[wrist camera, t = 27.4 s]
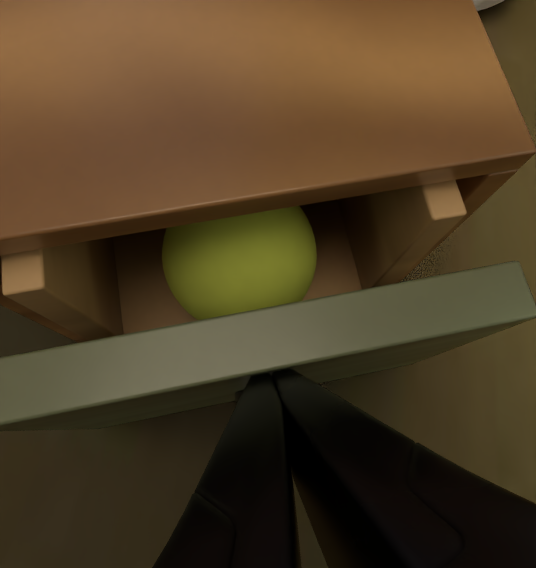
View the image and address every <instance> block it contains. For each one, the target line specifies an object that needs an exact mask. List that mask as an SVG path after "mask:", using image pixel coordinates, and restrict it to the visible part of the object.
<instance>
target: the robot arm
mask: <svg viewBox="0 0 536 568" xmlns="http://www.w3.org/2000/svg"><path fill="white" fill-rule="evenodd" d="M291 472H292V473H291ZM292 475H293V479H294V482H295V484H296V487H297V490H298V492H299V495H300V497H301V500H302V502H303V505H304V507H305V510H306V513H307V515H308V518H309V520H310V523H311V525H312V528H313V530H314V533H315V535H316V538H317V540H318V543H319V545H320V548H321V550H322V553H323V555H324V558H325V560H326V563H327V565H328V568H536V504H535V503H533V502H531V501H529V500H527V499H525V498H523V497H520V496H518V495H516V494H514V493H512V492H510V491H508V490H506V489H504V488H502V487H500V486H498V485H496V484H494V483H492V482H490V481H487V480H485V479H483V478H481V477H479V476H477V475H475V474H473V473H471V472H469V471H467V470H465V469H464V468H462V467H460V466H458V465H456V464H455V463H453V462H451V461H449V460H447V459H446V458H444V457H442V456H440V455H438V454H437V453H435V452H433V451H432V450H430V449H428V448H426V447H425V446H423V445H421V444H420V443H415V442H414V441H413V440H411V439H410V438H408V437H406V436H405V435H403V434H401V433H400V432H398V431H396V430H395V429H393V428H391V427H390V426H388V425H386V424H384V423H383V422H381V421H379V420H378V419H376V418H374V417H373V416H371V415H369V414H368V413H366V412H364V411H362V410H361V409H359V408H357V407H356V406H354V405H352V404H351V403H349V402H347V401H346V400H344V399H342V398H341V397H339V396H337V395H335V394H334V393H332V392H330V391H329V390H327V389H325V388H324V387H322V386H320V385H319V384H317V383H315V382H313V381H312V380H310V379H308V378H307V377H305V376H303V375H302V374H300V373H298V372H297V371H295V370H293V369H285V370H280V371H275V372H273V373H272V376H271V374H269V373H265V374H261V375H256V376H251V377H250V378H249V380H248V382H247V385H246V387H245V389H244V391H243V393H242V395H241V397H240V399H239V401H238V403H237V405H236V407H235V409H234V411H233V413H232V415H231V418H230V420H229V422H228V424H227V426H226V428H225V430H224V432H223V434H222V436H221V438H220V440H219V442H218V444H217V446H216V448H215V450H214V453H213V455H212V457H211V459H210V461H209V463H208V465H207V467H206V469H205V471H204V473H203V475H202V477H201V479H200V481H199V483H198V485H197V488H196V490H195V493H194V494H192V496H191V498H190V500H189V503H188V505H187V507H186V509H185V511H184V513H183V515H182V517H181V519H180V520H179V522H178V524H177V526H176V528H175V530H174V532H173V534H172V536H171V537H170V539H169V541H168V543H167V544H166V546H165V548H164V549H163V551H162V552H161V554H160V556H159V557H158V559H157V561H156V562H155V564H154V566H153V567H152V568H302V565H301V556H300V546H299V536H298V526H297V516H296V507H295V497H294V488H293V480H292Z"/></svg>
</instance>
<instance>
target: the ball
mask: <svg viewBox="0 0 536 568" xmlns="http://www.w3.org/2000/svg"><path fill="white" fill-rule="evenodd" d="M316 260H317V252H316V243H315V237H314V234H313V231H312V227H311V225H310V223H309V221H308V218H307V217H306V215H305V213H304V212H303V210H302V209H301V208H300V207H299V206H294V207H288V208H282V209H276V210H270V211H264V212H258V213H252V214H246V215H240V216H234V217H228V218H222V219H216V220H210V221H205V222H198V223H193V224H187V225H181V226H175V227H169V228H166V232H165V235H164V240H163V246H162V263H163V270H164V274H165V278H166V281H167V283H168V286H169V288H170V290H171V292H172V293H173V295H174V297H175V298H176V299H177V301H178V302H179V303H180V305H181V306H182V307H183V308H184V309H185V310H186V311H187V312H188V313H189V314H190V315H192V316H193V317H194V318H196V319H197V320H202V319H208V318H213V317H218V316H223V315H229V314H234V313H239V312H245V311H250V310H255V309H261V308H266V307H271V306H277V305H282V304H287V303H293V302H298V301H302V299H303V298H304V296H305V295H306V293H307V291H308V289H309V287H310V285H311V283H312V280H313V277H314V273H315V269H316Z"/></svg>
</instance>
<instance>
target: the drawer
mask: <svg viewBox="0 0 536 568" xmlns="http://www.w3.org/2000/svg"><path fill="white" fill-rule="evenodd" d="M299 207H300V208H301V209H302V210H303V212H304V213H305V215H306V217H307V218H308V221H309V223H310V225H311V227H312V231H313V234H314V237H315V243H316V252H317V260H316V269H315V273H314V277H313V280H312V283H311V285H310V287H309V289H308V291H307V293H306V295H305V296H304V298H303V299H302V301H298V302H293V303H287V304H282V305H277V306H271V307H266V308H261V309H255V310H250V311H245V312H239V313H234V314H229V315H223V316H218V317H213V318H208V319H202V320H197V319H196V318H194V317H193V316H192V315H190V314H189V313H188V312H187V311H186V310H185V309H184V308H183V307H182V306H181V305H180V303H179V302H178V301H177V299H176V298H175V297H174V295H173V293H172V292H171V290H170V288H169V286H168V283H167V281H166V278H165V274H164V270H163V263H162V246H163V240H164V235H165V232H166V228H163V229H157V230H151V231H145V232H139V233H133V234H127V235H121V236H115V237H109V238H103V239H97V240H91V241H85V242H79V243H73V244H67V245H61V246H55V247H49V248H43V249H37V250H31V251H25V252H19V253H13V254H7V255H1V267H2V293H3V295H4V296H6V297H8V298H10V299H12V300H13V301H15V302H17V303H19V304H21V305H23V306H25V307H27V308H29V309H30V310H32V311H34V312H36V313H38V314H40V315H42V316H44V317H46V318H47V319H49V320H51V321H53V322H55V323H57V324H59V325H61V326H62V327H64V328H66V329H68V330H70V331H72V332H74V333H76V334H78V335H79V336H81V337H83V338H85V339H87V340H89V341H85V342H80V343H74V344H69V345H64V346H58V347H53V348H48V349H43V350H37V351H32V352H27V353H21V354H16V355H11V356H5V357H0V431H25V430H66V429H100V428H105V427H110V426H115V425H120V424H125V423H129V422H134V421H139V420H144V419H149V418H154V417H158V416H163V415H168V414H173V413H178V412H183V411H187V410H192V409H197V408H202V407H207V406H212V405H216V404H221V403H226V402H231V401H236V405H237V403H238V401H239V399H240V397H241V395H242V393H243V391H244V389H245V387H246V385H247V382H248V380H249V378H250V377H251V376H256V375H261V374H265V373H269V374H271V376H272V373H273V372H275V371H280V370H285V369H293V370H295V371H297V372H298V373H300V374H302V375H303V376H305V377H307V378H308V379H310V380H312V381H313V382H315V383H317V384H318V383H323V382H328V381H332V380H337V379H342V378H347V377H352V376H357V375H361V374H366V373H371V372H376V371H381V370H386V369H390V368H395V367H400V366H405V365H410V364H413V363H416V362H419V361H421V360H424V359H427V358H429V357H432V356H435V355H438V354H440V353H443V352H446V351H448V350H451V349H454V348H456V347H459V346H462V345H464V344H467V343H470V342H472V341H475V340H478V339H480V338H483V337H486V336H488V335H491V334H494V333H496V332H499V331H502V330H505V329H507V328H510V327H513V326H515V325H518V324H521V323H523V322H526V321H529V320H531V319H534V318H536V304H535V301H534V299H533V296H532V294H531V291H530V288H529V286H528V283H527V281H526V278H525V275H524V273H523V270H522V268H521V265H520V263H519V262H518V261H511V262H506V263H500V264H495V265H490V266H484V267H479V268H474V269H468V270H463V271H458V272H452V273H447V274H442V275H436V276H431V277H426V278H420V279H415V280H410V281H404V282H399V283H396V282H397V281H398V280H399V279H400V278H401V277H402V276H403V275H404V274H405V273H406V272H407V271H408V270H409V269H410V268H411V267H412V266H413V265H414V264H415V263H417V262H418V261H419V260H420V259H421V258H422V257H423V256H424V255H425V254H426V253H427V252H428V251H429V250H430V249H431V248H432V247H433V246H434V245H435V244H436V243H437V242H438V241H439V240H440V239H441V238H442V237H443V236H444V235H445V234H447V233H448V232H449V231H450V230H451V229H452V228H453V227H454V226H455V225H456V224H457V223H458V222H459V221H460V220H461V219H462V218H463V217H464V216H465V215H466V213H467V211H466V208H465V205H464V203H463V200H462V197H461V194H460V192H459V189H458V186H457V183H456V181H455V180H450V181H444V182H438V183H432V184H426V185H420V186H414V187H408V188H402V189H396V190H390V191H384V192H378V193H372V194H366V195H360V196H354V197H348V198H342V199H336V200H330V201H324V202H318V203H312V204H306V205H300V206H299Z"/></svg>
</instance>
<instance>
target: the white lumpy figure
mask: <svg viewBox="0 0 536 568" xmlns="http://www.w3.org/2000/svg"><path fill="white" fill-rule="evenodd" d="M503 1H505V0H473V3H474V5H475V7H476V10H477V11H480V10H483V9H487V8H489V7H492V6H494V5H496V4H499V3H501V2H503Z"/></svg>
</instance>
